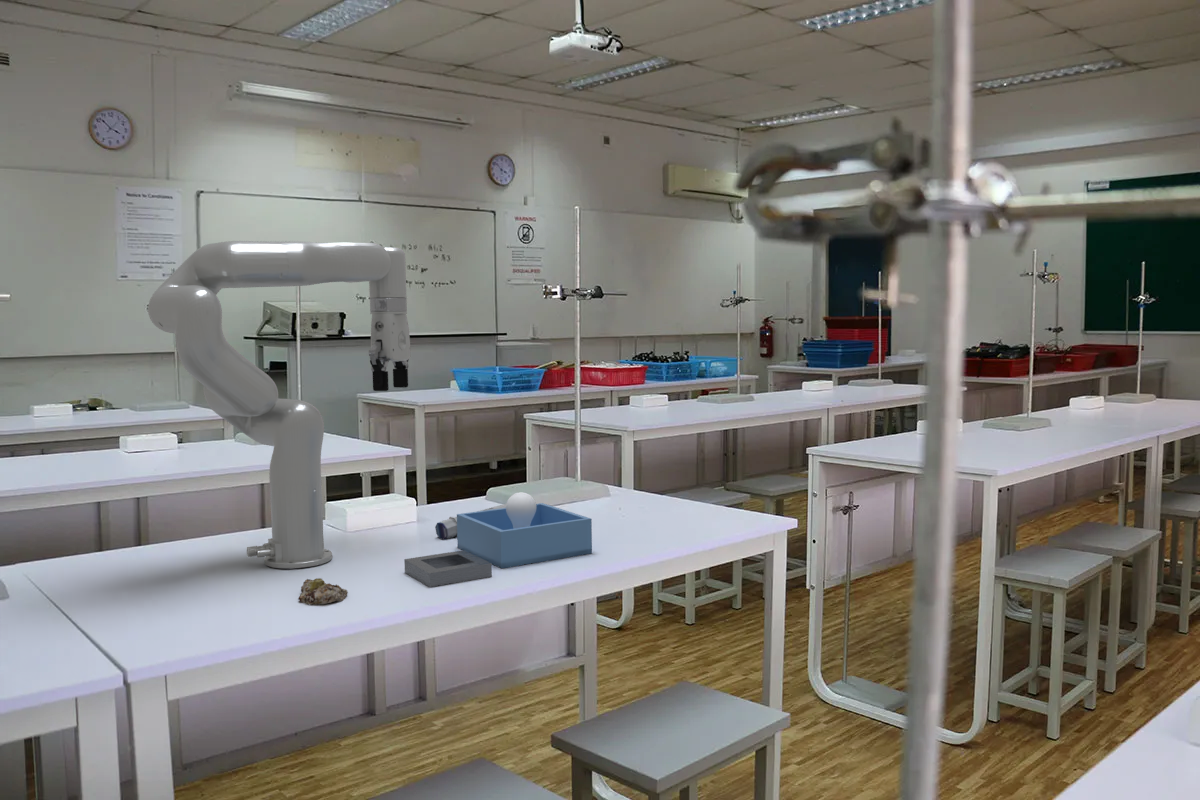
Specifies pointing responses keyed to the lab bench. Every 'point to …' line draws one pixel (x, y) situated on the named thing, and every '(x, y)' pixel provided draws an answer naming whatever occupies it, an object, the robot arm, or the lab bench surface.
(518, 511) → the lightbulb
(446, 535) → the flashlight
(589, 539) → the bin
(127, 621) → the lab bench surface
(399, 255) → the robot arm
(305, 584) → the mineral rock
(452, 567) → the socket block
